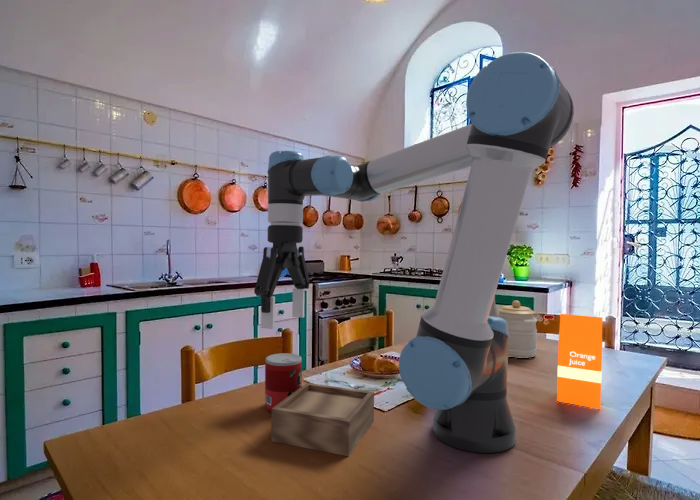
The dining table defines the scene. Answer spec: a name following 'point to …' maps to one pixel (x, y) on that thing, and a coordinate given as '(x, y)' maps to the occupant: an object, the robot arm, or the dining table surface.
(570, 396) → the orange juice
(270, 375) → the canned food
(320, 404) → the box
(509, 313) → the jar
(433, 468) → the dining table surface
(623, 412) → the dining table surface
